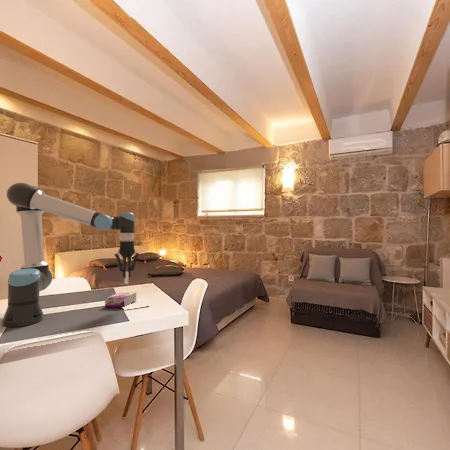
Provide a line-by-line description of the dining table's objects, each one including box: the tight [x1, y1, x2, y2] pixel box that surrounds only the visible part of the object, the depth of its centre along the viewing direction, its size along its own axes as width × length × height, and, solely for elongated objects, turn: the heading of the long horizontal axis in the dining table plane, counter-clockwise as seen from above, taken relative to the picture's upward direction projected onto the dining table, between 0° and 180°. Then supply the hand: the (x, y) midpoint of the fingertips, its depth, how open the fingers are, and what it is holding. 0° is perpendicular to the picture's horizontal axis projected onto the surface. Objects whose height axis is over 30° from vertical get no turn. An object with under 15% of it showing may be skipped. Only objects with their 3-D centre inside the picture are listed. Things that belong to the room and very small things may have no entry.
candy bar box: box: [104, 291, 137, 308], centre depth 157 cm, size 11×5×16 cm
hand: (126, 283), depth 150 cm, fingers closed
